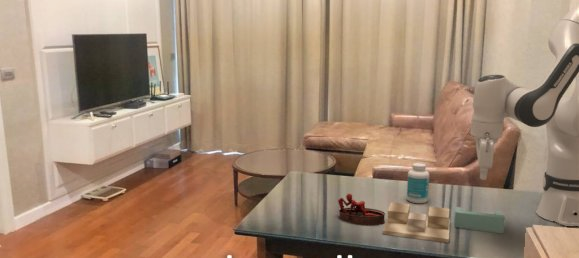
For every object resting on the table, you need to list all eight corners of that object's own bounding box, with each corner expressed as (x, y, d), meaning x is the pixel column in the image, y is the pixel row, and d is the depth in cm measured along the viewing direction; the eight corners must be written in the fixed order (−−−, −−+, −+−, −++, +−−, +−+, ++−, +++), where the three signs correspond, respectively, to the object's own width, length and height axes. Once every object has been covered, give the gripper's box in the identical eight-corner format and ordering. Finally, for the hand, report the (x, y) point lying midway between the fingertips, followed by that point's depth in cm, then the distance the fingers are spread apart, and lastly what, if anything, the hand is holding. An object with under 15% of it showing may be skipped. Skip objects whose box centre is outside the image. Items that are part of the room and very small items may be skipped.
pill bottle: (430, 204, 170) (432, 167, 168) (409, 204, 171) (411, 167, 168) (424, 197, 178) (426, 161, 175) (404, 197, 178) (406, 161, 175)
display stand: (449, 222, 154) (450, 207, 153) (448, 243, 139) (449, 226, 138) (389, 215, 160) (390, 200, 159) (382, 234, 146) (383, 218, 145)
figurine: (337, 225, 152) (337, 192, 155) (339, 227, 162) (338, 195, 164) (385, 226, 150) (384, 192, 153) (384, 227, 159) (383, 195, 162)
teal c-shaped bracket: (500, 219, 157) (501, 204, 156) (503, 233, 146) (504, 217, 145) (454, 213, 162) (455, 199, 161) (454, 227, 151) (455, 212, 150)
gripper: (500, 137, 132) (495, 186, 135) (495, 124, 151) (491, 166, 154) (476, 136, 134) (472, 183, 137) (474, 123, 153) (470, 165, 156)
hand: (482, 174), depth 146 cm, fingers open, 8 cm apart
